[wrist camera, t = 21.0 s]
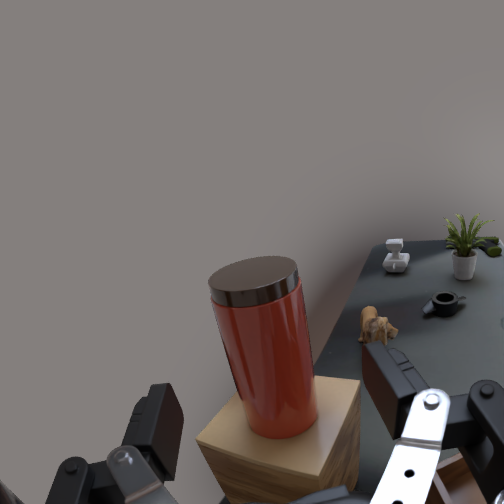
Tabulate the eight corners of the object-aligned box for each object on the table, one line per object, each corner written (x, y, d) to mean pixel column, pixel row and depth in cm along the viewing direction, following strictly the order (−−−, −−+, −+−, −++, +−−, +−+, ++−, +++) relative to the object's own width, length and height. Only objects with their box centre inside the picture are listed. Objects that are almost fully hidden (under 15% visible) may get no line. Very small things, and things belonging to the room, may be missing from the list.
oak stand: (326, 548, 21) (318, 480, 16) (242, 522, 26) (196, 443, 22) (358, 478, 29) (360, 385, 25) (281, 463, 34) (258, 371, 30)
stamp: (406, 277, 77) (404, 246, 74) (382, 276, 81) (380, 246, 78) (410, 264, 84) (409, 235, 81) (388, 263, 87) (386, 235, 85)
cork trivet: (318, 480, 16) (318, 476, 16) (196, 443, 22) (194, 438, 22) (360, 385, 25) (360, 380, 24) (258, 371, 30) (256, 366, 30)
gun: (445, 258, 82) (445, 242, 93) (504, 256, 71) (497, 241, 83) (445, 249, 81) (445, 235, 93) (504, 248, 70) (497, 234, 82)
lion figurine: (399, 367, 46) (401, 320, 44) (369, 375, 47) (368, 328, 44) (373, 324, 60) (371, 283, 58) (348, 330, 61) (345, 289, 58)
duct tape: (423, 300, 64) (423, 289, 63) (465, 301, 58) (466, 289, 57) (420, 318, 58) (420, 306, 57) (466, 319, 52) (468, 306, 51)
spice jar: (261, 450, 20) (217, 301, 16) (238, 405, 25) (199, 272, 21) (331, 419, 21) (315, 270, 18) (299, 381, 26) (276, 249, 23)
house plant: (492, 265, 68) (493, 205, 64) (494, 288, 59) (497, 219, 54) (445, 264, 78) (443, 205, 73) (439, 285, 68) (439, 218, 63)
